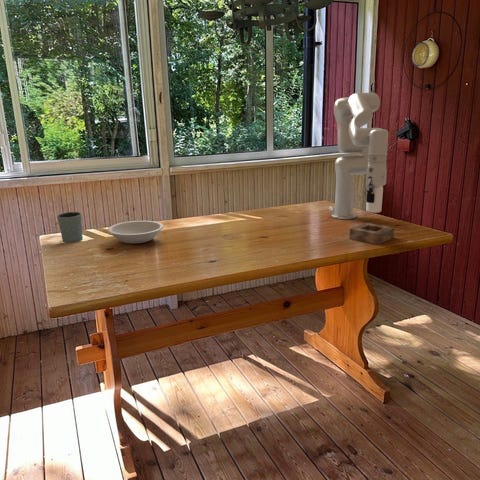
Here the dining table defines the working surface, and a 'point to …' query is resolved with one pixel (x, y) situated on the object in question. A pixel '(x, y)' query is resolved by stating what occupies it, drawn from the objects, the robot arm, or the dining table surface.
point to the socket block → (371, 233)
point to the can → (376, 201)
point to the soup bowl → (135, 231)
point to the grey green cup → (70, 226)
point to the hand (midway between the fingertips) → (374, 200)
